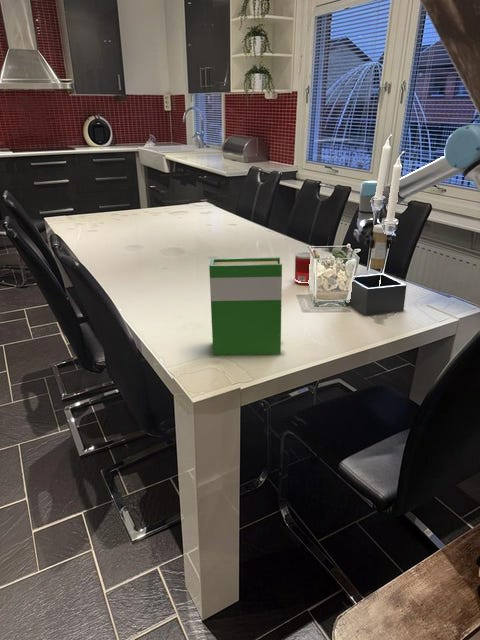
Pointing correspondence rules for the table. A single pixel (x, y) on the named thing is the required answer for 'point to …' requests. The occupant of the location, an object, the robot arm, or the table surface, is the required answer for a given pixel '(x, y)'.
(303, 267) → the canned food
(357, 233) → the robot arm
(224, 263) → the hardback book
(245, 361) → the table surface
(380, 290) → the black open box
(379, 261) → the sprinkles bottle
